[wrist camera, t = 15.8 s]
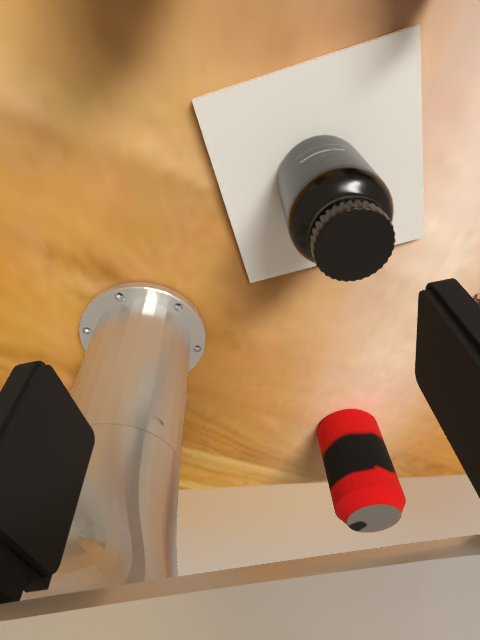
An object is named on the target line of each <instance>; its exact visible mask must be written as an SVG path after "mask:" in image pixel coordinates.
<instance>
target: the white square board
mask: <svg viewBox="0 0 480 640" xmlns="http://www.w3.org/2000/svg"><path fill="white" fill-rule="evenodd" d="M192 103H193V106H194V109H195V113H196V116H197V119H198V122H199V125H200V128H201V131H202V134H203V138H204V141H205V144H206V147H207V150H208V153H209V156H210V159H211V162H212V166H213V169H214V172H215V175H216V178H217V181H218V184H219V187H220V191H221V194H222V197H223V200H224V203H225V206H226V209H227V212H228V216H229V219H230V222H231V225H232V228H233V231H234V234H235V237H236V241H237V244H238V247H239V250H240V253H241V256H242V259H243V262H244V265H245V269H246V272H247V275H248V278H249V281H250V283H254V282H257V281H261V280H265V279H269V278H272V277H276V276H280V275H284V274H288V273H291V272H295V271H299V270H303V269H306V268H310V267H314V266H317V265H316V264H315V263H313V262H311V261H309V260H307V259H306V258H305V257H303V256H302V255H301V254H300V253H299V252H298V251H297V249H296V248H295V246H294V245H293V243H292V241H291V238H290V235H289V232H288V229H287V225H286V221H285V217H284V213H283V210H282V206H281V202H280V198H279V194H278V188H277V178H278V172H279V169H280V166H281V164H282V162H283V160H284V158H285V157H286V155H287V154H288V153H289V152H290V150H291V149H292V148H293V147H295V146H296V145H297V144H299V143H300V142H302V141H303V140H305V139H308V138H310V137H313V136H318V135H332V136H336V137H339V138H341V139H344V140H345V141H347V142H348V143H350V144H351V145H352V146H353V147H354V148H355V149H356V150H357V151H358V152H359V153H360V155H361V156H362V157H363V158H364V159H365V160H366V162H367V163H368V164H369V165H370V166H371V167H372V168H373V170H374V171H375V172H376V173H377V174H378V175H379V177H380V178H381V179H382V180H383V181H384V183H385V184H386V186H387V187H388V189H389V191H390V193H391V196H392V199H393V205H394V215H393V221H392V224H393V226H394V229H393V230H394V231H395V240H396V241H395V243H394V245H397V244H401V243H404V242H408V241H412V240H416V239H420V238H423V237H425V233H424V188H423V144H422V99H421V54H420V25H413V26H410V27H407V28H404V29H401V30H398V31H395V32H392V33H389V34H386V35H383V36H380V37H377V38H374V39H371V40H368V41H365V42H362V43H359V44H356V45H353V46H350V47H347V48H343V49H340V50H337V51H334V52H331V53H328V54H325V55H322V56H319V57H316V58H313V59H310V60H307V61H304V62H301V63H298V64H295V65H292V66H289V67H286V68H283V69H280V70H277V71H274V72H271V73H268V74H265V75H262V76H259V77H256V78H253V79H250V80H247V81H244V82H241V83H238V84H235V85H232V86H229V87H226V88H223V89H220V90H217V91H214V92H211V93H208V94H205V95H202V96H199V97H196V98H193V99H192Z"/></svg>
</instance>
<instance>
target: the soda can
mask: <svg viewBox="0 0 480 640" xmlns="http://www.w3.org/2000/svg"><path fill="white" fill-rule="evenodd" d="M317 436H318V440H319V444H320V449H321V453H322V457H323V462H324V466H325V470H326V475H327V479H328V483H329V488H330V492H331V496H332V501H333V505H334V509H335V513H336V515H337V517H338V518H339V519H341V520H342V521H343V522H344V523H346V524H347V525H348V526H349V527H350V528H351V529H352V530H355V531H358V532H376V531H381V530H384V529H387V528H389V527H391V526H393V525H394V524H396V523H397V522H398V521H399V519H400V518H401V513H402V511H403V508H404V505H405V502H406V501H405V496H404V493H403V490H402V488H401V485H400V483H399V480H398V477H397V475H396V472H395V469H394V467H393V464H392V461H391V459H390V456H389V454H388V451H387V448H386V446H385V443H384V440H383V438H382V435H381V432H380V430H379V427H378V425H377V422H376V420H375V418H374V417H373V416H372V415H370V414H369V413H367V412H364V411H362V410H357V409H346V410H341V411H338V412H335V413H333V414H331V415H329V416H328V417H326V418H325V419H324V420H323V421H322V423H321V424H320V426H319V427H318V431H317Z"/></svg>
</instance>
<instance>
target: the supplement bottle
mask: <svg viewBox="0 0 480 640" xmlns="http://www.w3.org/2000/svg"><path fill="white" fill-rule="evenodd" d="M277 188H278V194H279V198H280V202H281V206H282V210H283V213H284V217H285V221H286V225H287V229H288V232H289V235H290V238H291V241H292V243H293V245H294V246H295V248H296V249H297V251H298V252H299V253H300V254H301V255H302V256H303V257H305V258H306V259H307V260H309V261H311V262H313V263H315V264H316V265H317V266H318V267H319V269H320V271H322V272H324V273H325V275H326V276H330V277H331V278H332V279H337V280H338V281H342V280H343V281H346V282H347V281H356V280H361V279H363V278H365V277H369V276H370V275H371V274H373V273H376V272H377V271H378V269H380V268H382V267H383V265H384V264H385V263H386V262H387V261H388V258H389V257H390V256H391V255H392V251H393V249H394V243H395V241H396V240H395V231H394V230H393V229H394V226H393V224H392V221H393V215H394V205H393V199H392V196H391V193H390V191H389V189H388V187H387V186H386V184H385V183H384V181H383V180H382V179H381V178H380V177H379V175H378V174H377V173H376V172H375V171H374V170H373V168H372V167H371V166H370V165H369V164H368V163H367V162H366V160H365V159H364V158H363V157H362V156H361V155H360V153H359V152H358V151H357V150H356V149H355V148H354V147H353V146H352V145H351V144H350V143H348V142H347V141H345V140H344V139H341V138H339V137H336V136H332V135H318V136H313V137H310V138H308V139H305V140H303V141H302V142H300V143H299V144H297V145H296V146H295V147H293V148H292V149H291V150H290V152H289V153H288V154H287V155H286V157H285V158H284V160H283V162H282V164H281V166H280V169H279V172H278V178H277Z"/></svg>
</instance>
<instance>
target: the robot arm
mask: <svg viewBox="0 0 480 640" xmlns="http://www.w3.org/2000/svg"><path fill="white" fill-rule="evenodd" d="M178 303H179V304H178ZM79 336H80V341H81V344H82V346H83V349H84V351H85V352H86V354H85V356H84V359H83V361H82V364H81V367H80V369H79V372H78V374H77V377H76V380H75V382H74V385H73V387H72V390H71V393H70V394H69V392H68V391H67V389H66V388H65V386H64V385H63V383H62V382H61V380H60V378H59V377H58V375H57V374H56V372H55V371H54V369H53V368H52V367H51V366H50V365H45V363H43V362H42V361H35V362H30V363H25V364H20V365H17V366H15V368H14V369H13V370H12V372H11V374H10V376H9V377H8V379H7V381H6V383H5V384H4V386H3V388H2V390H1V391H0V640H480V535H473V536H465V537H457V538H449V539H442V540H433V541H424V542H417V543H409V544H402V545H396V546H395V545H394V546H387V547H380V548H373V549H366V550H359V551H352V552H345V553H338V554H331V555H324V556H317V557H310V558H304V559H296V560H289V561H282V562H275V563H268V564H261V565H254V566H247V567H241V568H234V569H227V570H220V571H214V572H206V573H200V574H193V575H186V576H179V577H178V571H177V549H176V530H177V506H178V490H179V478H180V466H181V454H182V442H183V430H184V418H185V406H186V404H187V403H188V398H187V396H186V394H187V382H188V372H189V371H191V370H192V369H193V368H194V367H195V366H196V365H197V364H198V362H199V361H200V360H201V358H202V356H203V353H204V351H205V346H206V329H205V324H204V321H203V319H202V317H201V315H200V313H199V312H198V310H197V309H196V308H195V306H194V305H193V304H192V303H191V302H190V301H188V300H187V299H186V298H185V297H183V296H182V295H180V294H179V293H177V292H176V291H173V290H171V289H169V288H167V287H164V286H160V285H157V284H153V283H144V282H130V283H123V284H119V285H114V286H112V287H110V288H107V289H105V290H103V291H102V292H100V293H99V294H97V295H96V296H95V297H94V298H93V299H92V300H91V301H90V302H89V303H88V305H87V306H86V308H85V310H84V312H83V315H82V317H81V320H80V324H79ZM415 375H416V380H417V383H418V385H419V387H420V389H421V391H422V393H423V395H424V396H425V398H426V400H427V402H428V404H429V406H430V407H431V409H432V411H433V413H434V415H435V417H436V419H437V420H438V422H439V424H440V426H441V428H442V430H443V431H444V433H445V435H446V437H447V439H448V441H449V442H450V444H451V446H452V448H453V450H454V452H455V454H456V455H457V457H458V459H459V461H460V463H461V465H462V466H463V468H464V470H465V472H466V474H467V476H468V478H469V479H470V481H471V483H472V485H473V486H474V488H475V490H476V492H477V494H478V496H479V498H480V306H479V305H478V304H477V302H476V301H475V300H474V299H473V298H472V297H471V296H470V295H469V294H468V292H467V291H466V290H465V289H464V288H463V287H462V286H461V285H460V284H459V282H458V281H457V280H455V279H453V278H451V279H446V280H441V281H436V282H431V283H428V284H427V286H426V290H422V291H420V292H419V298H418V319H417V340H416V361H415Z"/></svg>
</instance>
